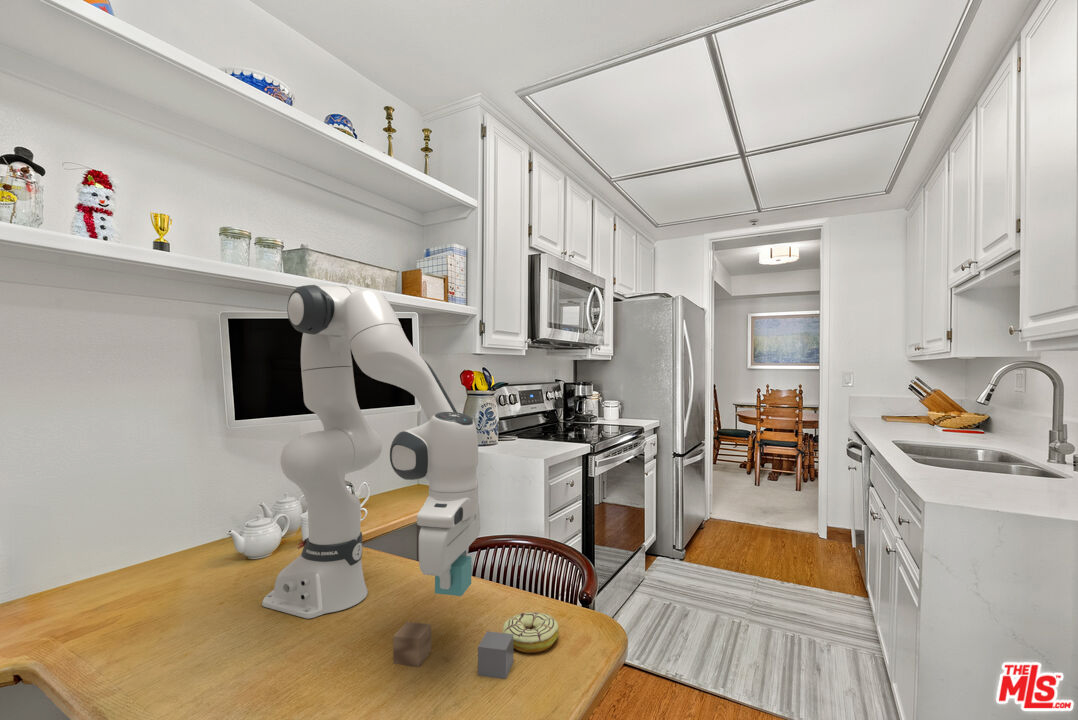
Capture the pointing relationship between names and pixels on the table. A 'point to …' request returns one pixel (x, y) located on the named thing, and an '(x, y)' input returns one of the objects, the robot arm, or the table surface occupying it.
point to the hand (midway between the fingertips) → (453, 579)
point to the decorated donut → (532, 631)
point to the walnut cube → (412, 644)
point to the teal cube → (457, 577)
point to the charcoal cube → (495, 655)
